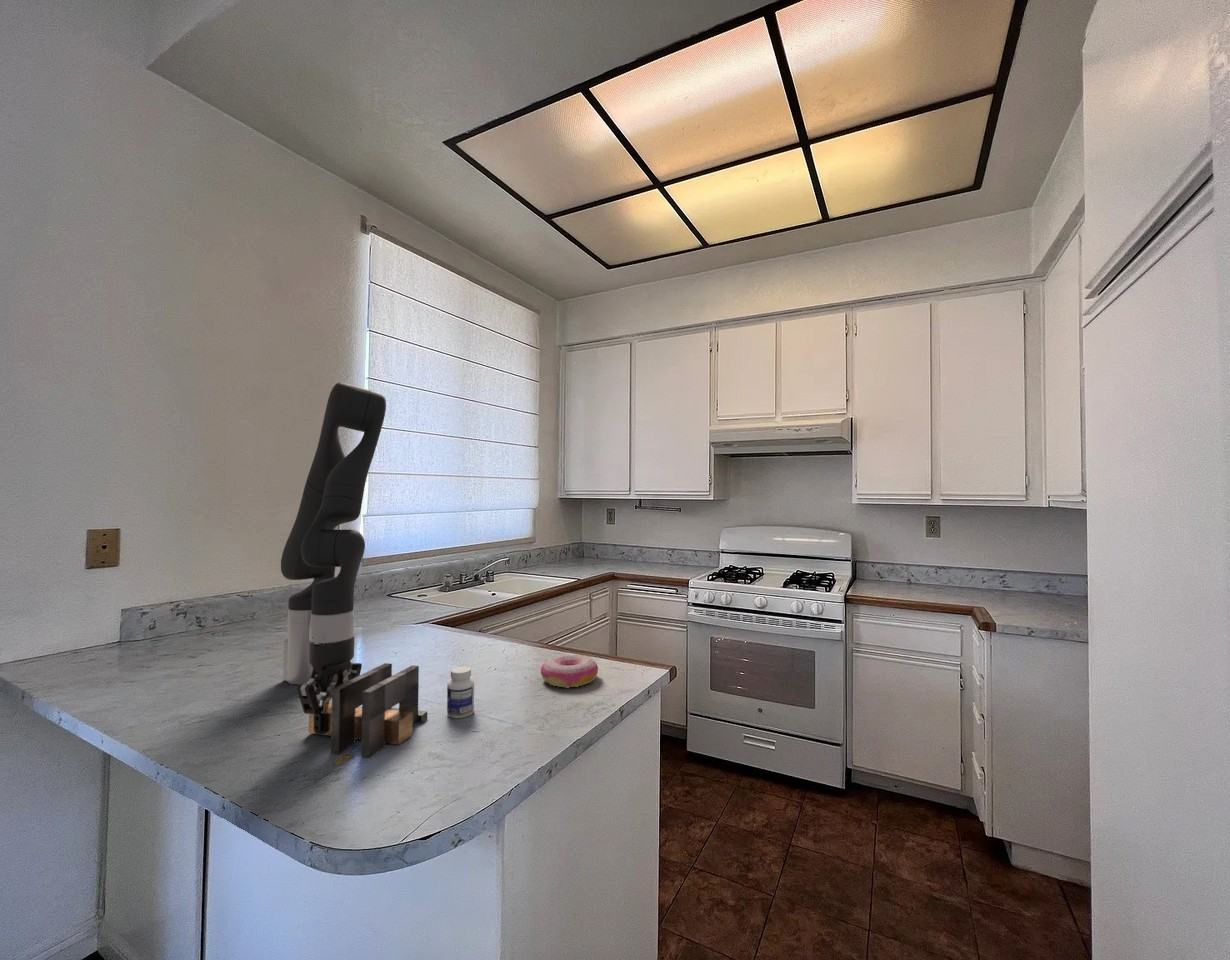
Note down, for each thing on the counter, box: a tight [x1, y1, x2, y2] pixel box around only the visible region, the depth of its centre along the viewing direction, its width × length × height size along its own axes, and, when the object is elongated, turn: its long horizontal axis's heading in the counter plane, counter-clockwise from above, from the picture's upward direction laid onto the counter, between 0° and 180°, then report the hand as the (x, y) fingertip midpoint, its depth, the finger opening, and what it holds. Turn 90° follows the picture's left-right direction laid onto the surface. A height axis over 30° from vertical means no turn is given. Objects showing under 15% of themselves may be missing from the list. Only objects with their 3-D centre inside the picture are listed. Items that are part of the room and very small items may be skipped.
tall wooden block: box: [308, 702, 414, 745], centre depth 96 cm, size 19×4×4 cm, turn 77°
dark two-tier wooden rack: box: [330, 662, 428, 766], centre depth 95 cm, size 9×19×11 cm, turn 167°
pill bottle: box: [446, 666, 475, 719], centre depth 106 cm, size 5×5×9 cm
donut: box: [540, 653, 599, 688], centre depth 125 cm, size 14×13×5 cm
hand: (330, 727), depth 98 cm, fingers closed on tall wooden block, 4 cm apart
